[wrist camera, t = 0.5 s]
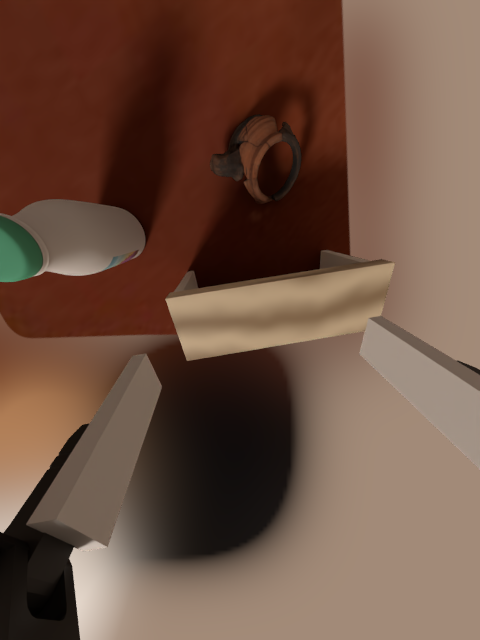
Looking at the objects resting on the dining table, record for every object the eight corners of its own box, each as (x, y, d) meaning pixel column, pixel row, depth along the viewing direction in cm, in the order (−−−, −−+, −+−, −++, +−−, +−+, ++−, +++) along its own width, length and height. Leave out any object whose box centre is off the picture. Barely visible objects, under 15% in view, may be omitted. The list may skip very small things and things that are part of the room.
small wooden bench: (186, 268, 34) (165, 298, 20) (327, 247, 34) (394, 262, 21) (198, 312, 38) (187, 360, 25) (323, 292, 39) (377, 328, 25)
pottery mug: (277, 105, 25) (315, 111, 21) (272, 186, 33) (299, 203, 28) (193, 120, 23) (216, 131, 18) (209, 203, 31) (228, 225, 26)
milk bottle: (92, 200, 28) (-129, 160, 10) (147, 214, 29) (38, 202, 12) (97, 252, 31) (-63, 292, 13) (146, 263, 33) (60, 311, 15)
